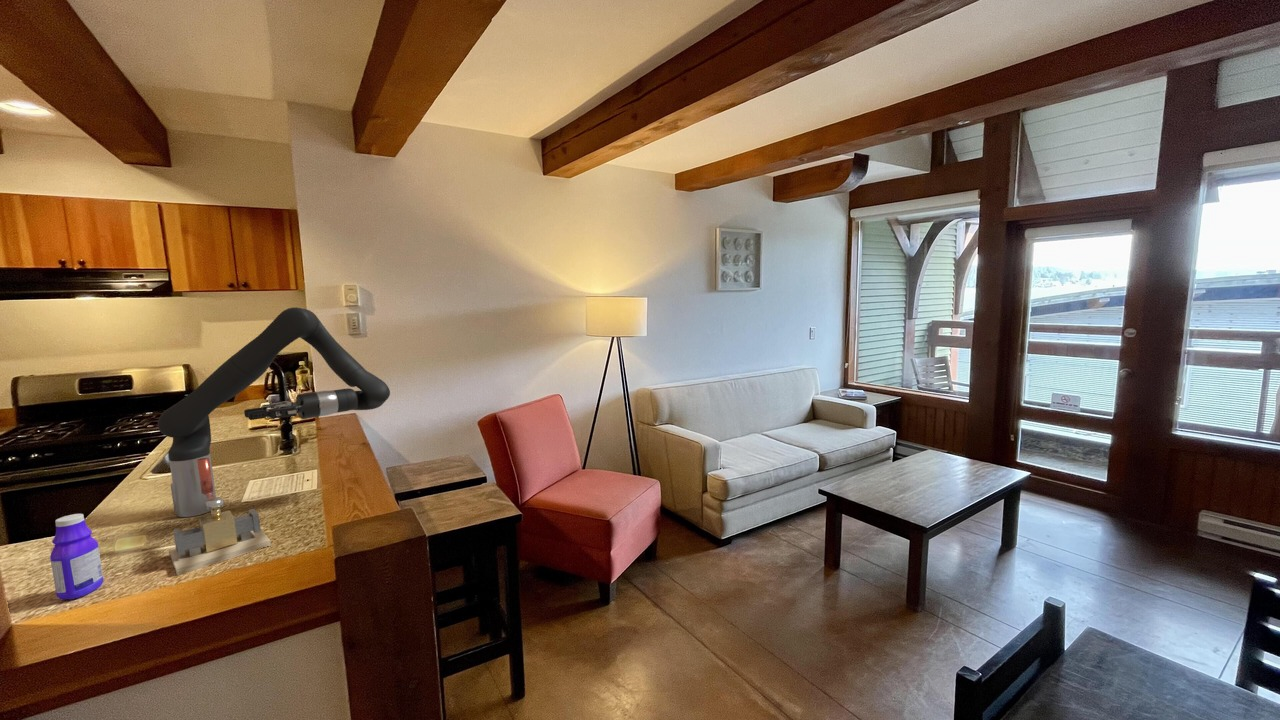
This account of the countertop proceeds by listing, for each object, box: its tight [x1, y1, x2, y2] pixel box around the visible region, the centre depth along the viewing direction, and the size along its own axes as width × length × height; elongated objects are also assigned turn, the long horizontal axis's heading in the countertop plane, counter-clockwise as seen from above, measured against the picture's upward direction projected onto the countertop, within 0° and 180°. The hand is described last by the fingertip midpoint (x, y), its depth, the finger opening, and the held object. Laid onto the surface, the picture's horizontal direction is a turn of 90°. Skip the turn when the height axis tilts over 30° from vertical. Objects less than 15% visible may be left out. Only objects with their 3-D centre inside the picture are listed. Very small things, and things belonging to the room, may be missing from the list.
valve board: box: [168, 528, 272, 576], centre depth 127 cm, size 18×14×2 cm
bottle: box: [49, 513, 104, 600], centre depth 109 cm, size 7×6×17 cm
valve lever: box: [197, 458, 224, 510], centre depth 129 cm, size 3×13×10 cm, turn 48°
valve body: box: [172, 507, 262, 557], centre depth 127 cm, size 16×6×10 cm, turn 138°
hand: (247, 415), depth 138 cm, fingers open, 4 cm apart
